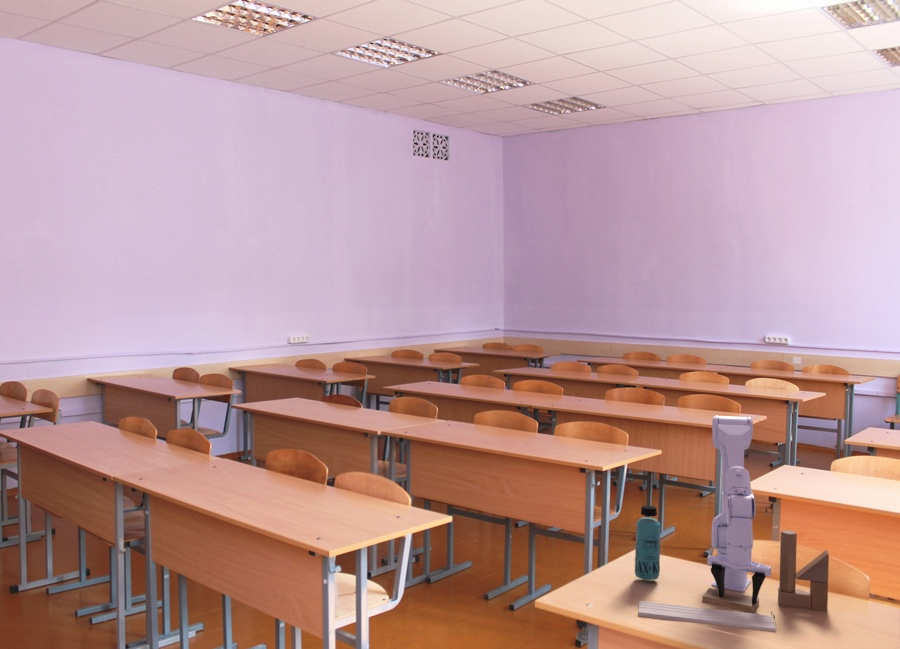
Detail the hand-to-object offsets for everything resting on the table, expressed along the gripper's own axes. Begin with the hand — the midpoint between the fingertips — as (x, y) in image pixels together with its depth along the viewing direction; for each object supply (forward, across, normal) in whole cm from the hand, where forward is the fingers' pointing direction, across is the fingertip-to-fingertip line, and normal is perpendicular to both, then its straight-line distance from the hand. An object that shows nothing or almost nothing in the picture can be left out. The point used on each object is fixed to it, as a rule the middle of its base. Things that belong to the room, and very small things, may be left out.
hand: (737, 599), depth 189 cm
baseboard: (+2, -5, -10) cm, 12 cm away
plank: (+2, -2, +1) cm, 3 cm away
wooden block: (+2, +13, +9) cm, 16 cm away
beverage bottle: (+2, -24, +4) cm, 24 cm away
